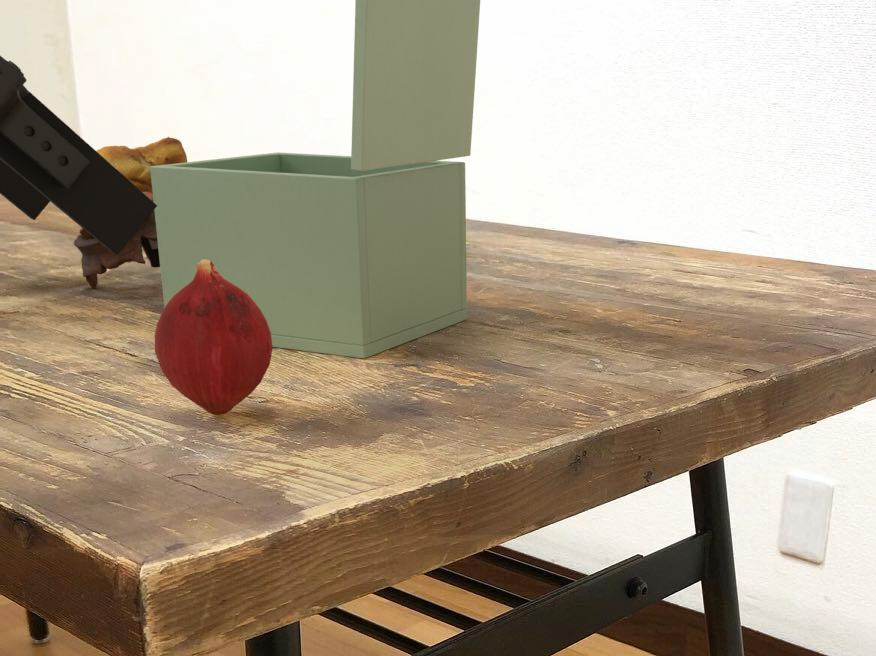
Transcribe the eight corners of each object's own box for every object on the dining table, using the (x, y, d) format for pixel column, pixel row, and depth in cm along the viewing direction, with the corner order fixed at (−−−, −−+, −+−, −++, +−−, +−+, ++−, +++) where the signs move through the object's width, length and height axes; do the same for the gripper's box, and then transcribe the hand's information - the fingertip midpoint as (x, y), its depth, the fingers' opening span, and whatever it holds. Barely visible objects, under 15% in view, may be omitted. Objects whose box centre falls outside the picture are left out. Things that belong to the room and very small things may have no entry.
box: (166, 333, 83) (149, 166, 79) (287, 299, 94) (277, 152, 90) (364, 358, 77) (356, 178, 73) (467, 319, 88) (465, 162, 84)
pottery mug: (224, 300, 96) (162, 210, 91) (119, 354, 97) (52, 267, 92) (225, 239, 106) (170, 154, 100) (130, 288, 107) (70, 207, 101)
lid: (358, -146, 66) (371, -146, 66) (476, -116, 78) (488, -116, 77) (350, 169, 73) (361, 171, 72) (460, 154, 84) (470, 155, 84)
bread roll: (83, 211, 143) (74, 139, 140) (72, 202, 151) (63, 134, 148) (196, 207, 148) (189, 137, 145) (179, 198, 156) (173, 132, 153)
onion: (298, 415, 65) (288, 261, 62) (201, 437, 61) (186, 274, 58) (237, 394, 68) (225, 248, 66) (142, 414, 65) (125, 259, 62)
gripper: (-305, -356, 35) (240, 172, 49) (-331, -214, 54) (65, 136, 68) (-486, -162, 34) (120, 320, 48) (-448, -88, 53) (-23, 242, 67)
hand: (89, 213), depth 58 cm, fingers open, 13 cm apart
